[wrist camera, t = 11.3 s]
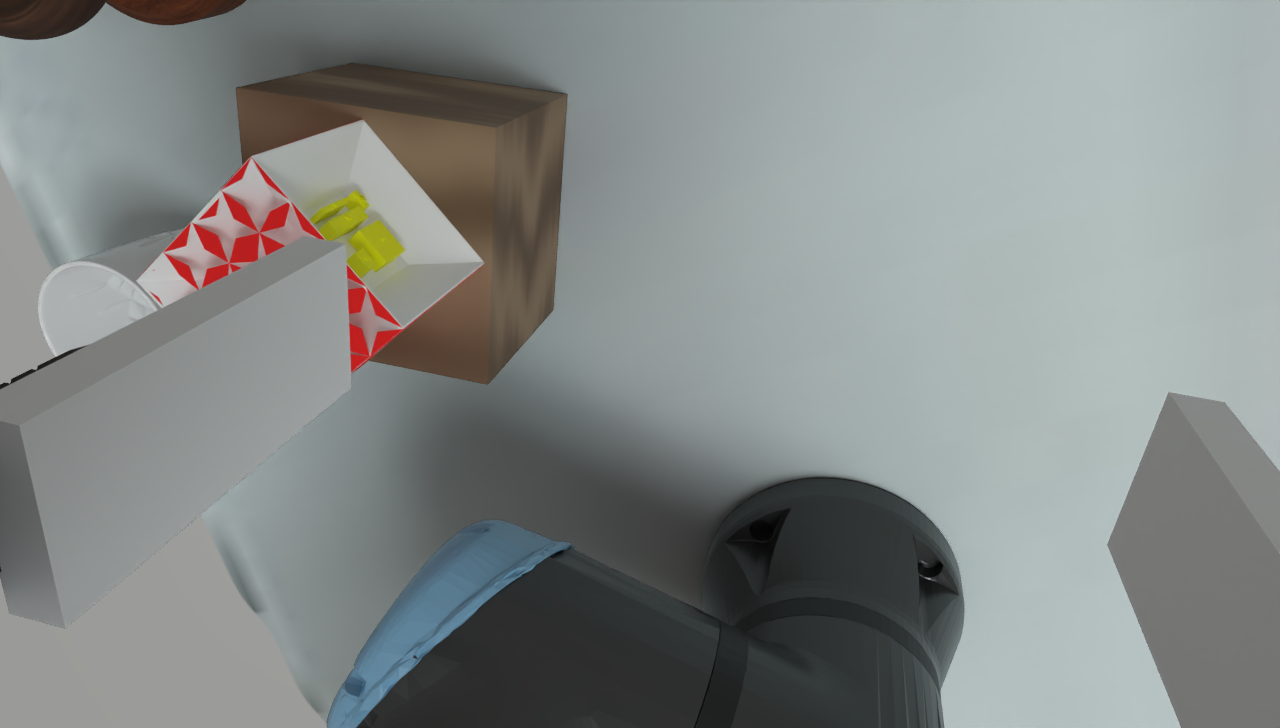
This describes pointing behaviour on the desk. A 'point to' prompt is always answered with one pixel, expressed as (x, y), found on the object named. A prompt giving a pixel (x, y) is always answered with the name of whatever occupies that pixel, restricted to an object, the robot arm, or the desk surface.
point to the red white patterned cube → (327, 231)
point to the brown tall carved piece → (61, 3)
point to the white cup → (98, 293)
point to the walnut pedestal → (447, 192)
